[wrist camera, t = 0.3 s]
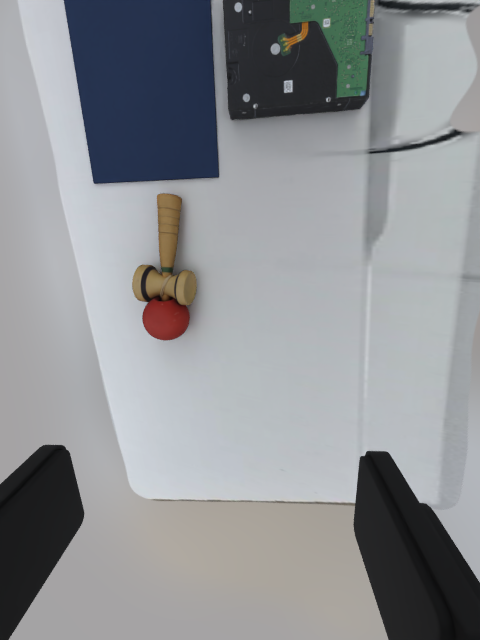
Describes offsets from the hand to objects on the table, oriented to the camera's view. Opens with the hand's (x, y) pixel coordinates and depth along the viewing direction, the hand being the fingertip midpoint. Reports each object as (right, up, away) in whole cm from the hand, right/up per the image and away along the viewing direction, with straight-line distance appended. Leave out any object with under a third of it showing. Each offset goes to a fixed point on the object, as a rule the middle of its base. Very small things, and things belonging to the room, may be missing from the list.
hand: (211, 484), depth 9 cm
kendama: (-8, +12, +29) cm, 33 cm away
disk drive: (+7, +34, +22) cm, 41 cm away
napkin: (-10, +32, +23) cm, 41 cm away
